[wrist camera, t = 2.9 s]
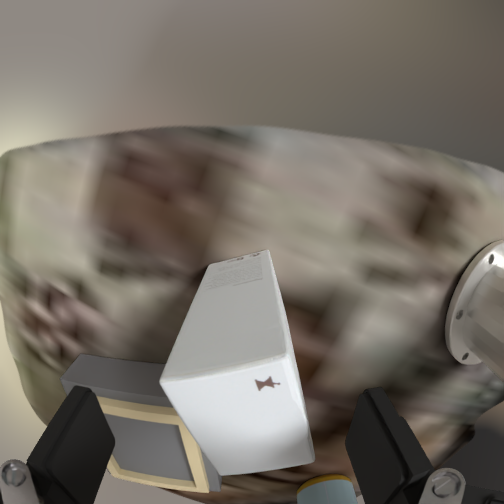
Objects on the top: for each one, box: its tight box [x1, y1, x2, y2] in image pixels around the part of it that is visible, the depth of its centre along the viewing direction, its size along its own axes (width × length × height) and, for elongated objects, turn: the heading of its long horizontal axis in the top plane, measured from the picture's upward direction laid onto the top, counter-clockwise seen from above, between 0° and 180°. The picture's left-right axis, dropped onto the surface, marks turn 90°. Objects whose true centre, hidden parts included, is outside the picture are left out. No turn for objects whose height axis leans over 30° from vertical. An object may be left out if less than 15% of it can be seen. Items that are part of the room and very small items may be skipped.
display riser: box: [60, 354, 222, 493], centre depth 21 cm, size 12×14×5 cm
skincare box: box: [159, 250, 315, 476], centre depth 14 cm, size 6×4×12 cm
